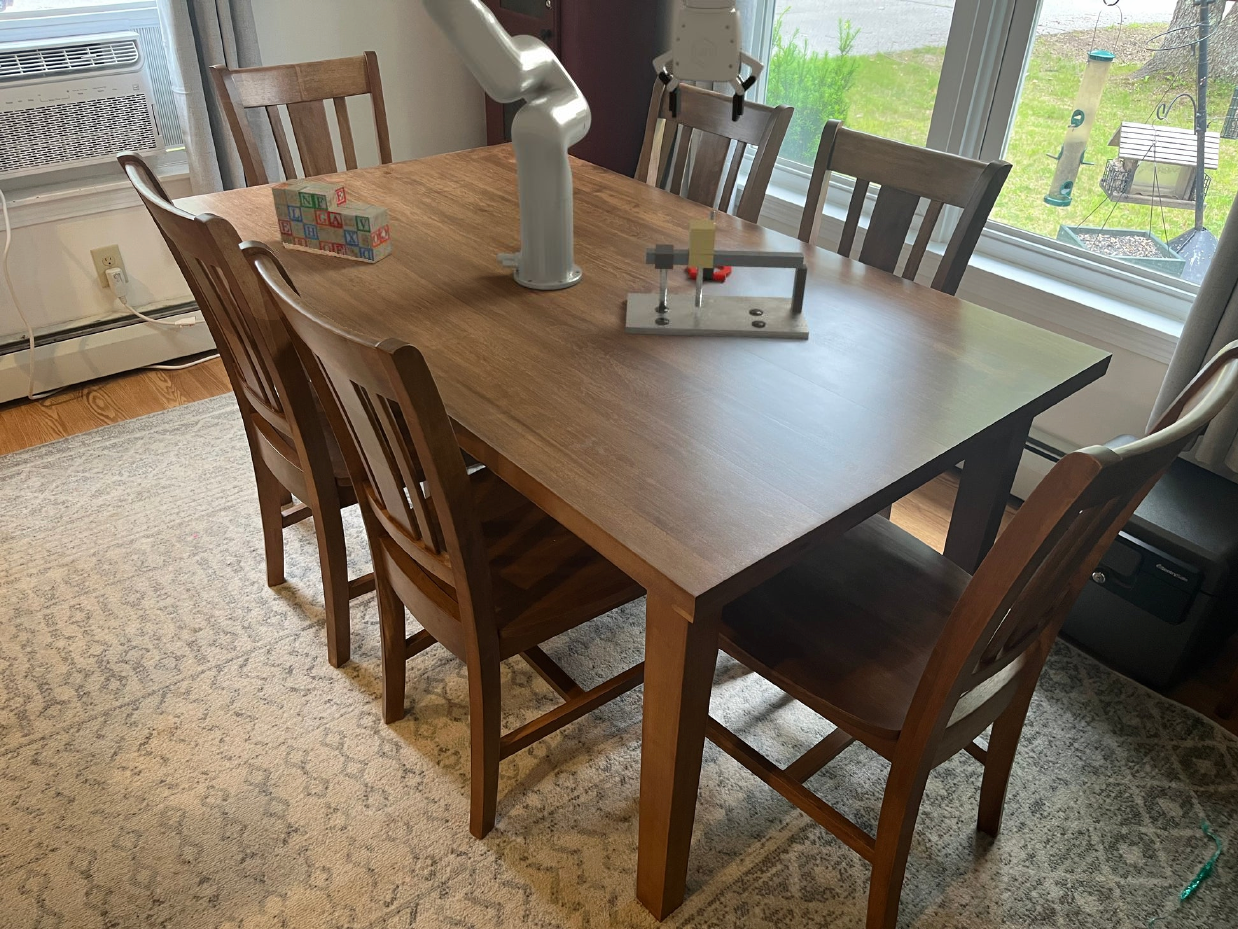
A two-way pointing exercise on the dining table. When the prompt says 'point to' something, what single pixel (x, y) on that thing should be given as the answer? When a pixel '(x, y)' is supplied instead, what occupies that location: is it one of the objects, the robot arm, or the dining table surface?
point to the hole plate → (715, 316)
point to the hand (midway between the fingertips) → (705, 118)
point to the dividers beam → (669, 256)
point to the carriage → (701, 250)
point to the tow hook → (709, 272)
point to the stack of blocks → (330, 220)
